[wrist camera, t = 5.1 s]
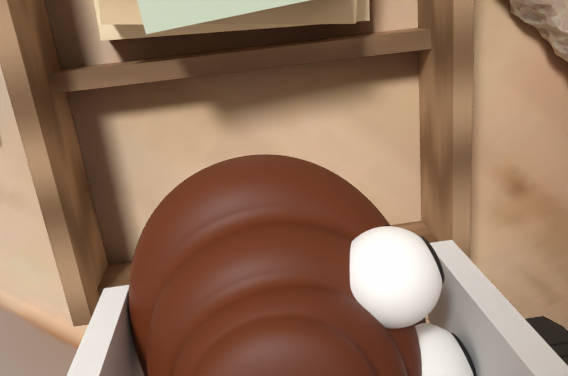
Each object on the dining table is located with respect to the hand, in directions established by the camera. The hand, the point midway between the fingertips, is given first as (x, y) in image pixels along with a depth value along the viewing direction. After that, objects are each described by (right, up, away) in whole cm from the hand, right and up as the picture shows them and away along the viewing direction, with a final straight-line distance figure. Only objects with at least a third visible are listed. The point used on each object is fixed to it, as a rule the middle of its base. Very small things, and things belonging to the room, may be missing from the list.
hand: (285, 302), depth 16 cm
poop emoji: (0, 0, +1) cm, 1 cm away
